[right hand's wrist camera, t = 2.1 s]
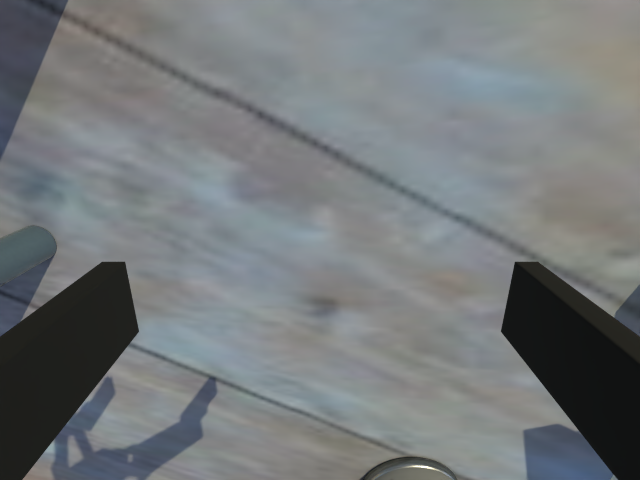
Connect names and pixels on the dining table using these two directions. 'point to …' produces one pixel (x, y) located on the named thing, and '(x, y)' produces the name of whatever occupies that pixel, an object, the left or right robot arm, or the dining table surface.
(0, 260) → the gray cylinder
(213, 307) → the dining table surface
